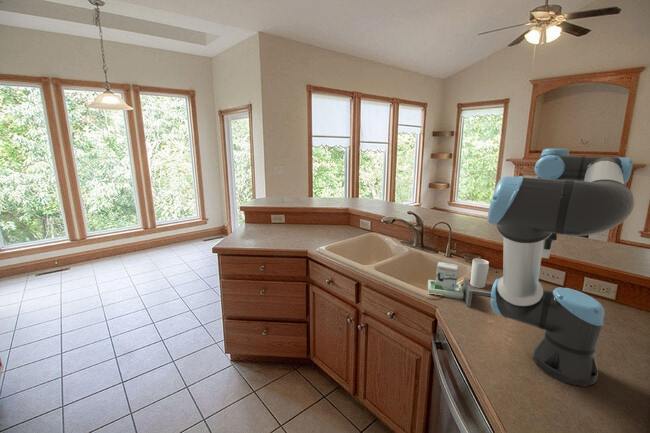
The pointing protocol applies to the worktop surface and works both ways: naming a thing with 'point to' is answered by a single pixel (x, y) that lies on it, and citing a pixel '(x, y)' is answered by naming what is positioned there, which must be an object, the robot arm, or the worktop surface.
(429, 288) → the tray
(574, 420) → the worktop surface
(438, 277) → the ink box
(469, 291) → the bay
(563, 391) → the worktop surface
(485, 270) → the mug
